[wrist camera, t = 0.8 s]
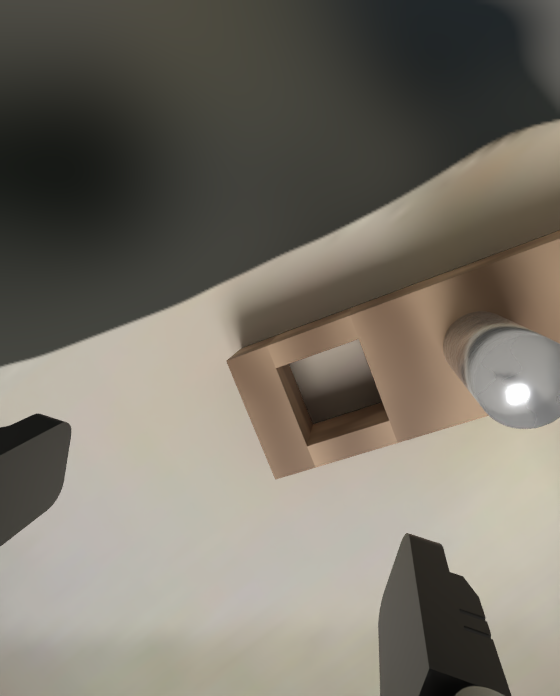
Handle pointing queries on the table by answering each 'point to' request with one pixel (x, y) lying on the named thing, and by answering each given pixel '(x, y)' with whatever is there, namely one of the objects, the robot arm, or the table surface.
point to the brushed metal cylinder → (506, 368)
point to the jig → (394, 358)
